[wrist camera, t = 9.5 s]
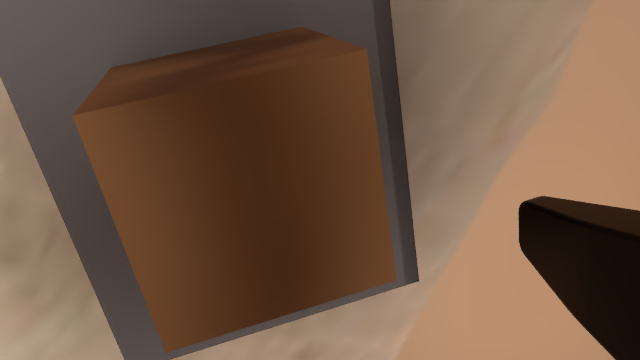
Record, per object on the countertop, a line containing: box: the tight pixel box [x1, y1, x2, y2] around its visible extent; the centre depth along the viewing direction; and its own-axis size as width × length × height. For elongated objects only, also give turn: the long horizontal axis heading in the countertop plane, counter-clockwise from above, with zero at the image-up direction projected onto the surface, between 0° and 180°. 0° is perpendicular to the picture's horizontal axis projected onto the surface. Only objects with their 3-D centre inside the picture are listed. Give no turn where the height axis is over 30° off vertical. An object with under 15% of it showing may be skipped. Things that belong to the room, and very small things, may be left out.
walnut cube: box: [72, 27, 397, 353], centre depth 14 cm, size 6×6×6 cm
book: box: [0, 0, 419, 360], centre depth 18 cm, size 12×16×4 cm
